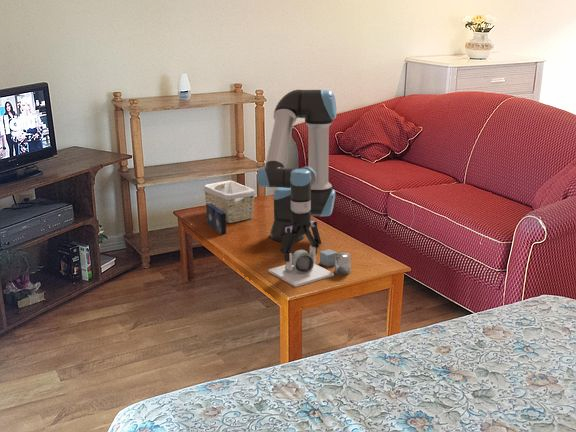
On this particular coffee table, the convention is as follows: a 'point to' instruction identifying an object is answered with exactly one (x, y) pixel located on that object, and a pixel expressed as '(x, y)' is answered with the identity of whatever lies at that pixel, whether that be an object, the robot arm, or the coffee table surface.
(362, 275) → the coffee table surface
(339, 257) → the metal tin
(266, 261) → the coffee table surface
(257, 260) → the coffee table surface
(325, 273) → the white thin square slab
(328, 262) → the slate block
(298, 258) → the ceramic mug
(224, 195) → the storage basket
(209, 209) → the vhs cassette tape
